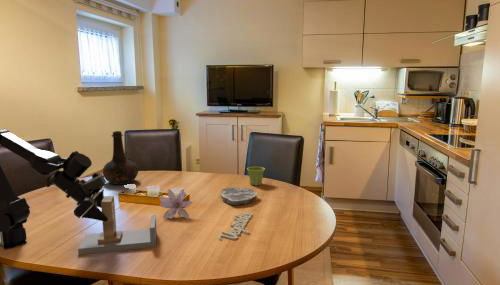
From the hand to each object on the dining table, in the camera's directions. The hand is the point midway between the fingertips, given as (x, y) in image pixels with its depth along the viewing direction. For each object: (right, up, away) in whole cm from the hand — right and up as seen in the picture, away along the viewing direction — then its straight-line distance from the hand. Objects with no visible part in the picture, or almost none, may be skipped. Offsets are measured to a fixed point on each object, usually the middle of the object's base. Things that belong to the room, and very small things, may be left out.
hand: (109, 215), depth 119 cm
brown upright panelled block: (0, -8, +1) cm, 8 cm away
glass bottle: (-23, +3, +74) cm, 77 cm away
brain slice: (+42, -3, +48) cm, 64 cm away
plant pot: (+50, +2, +71) cm, 87 cm away
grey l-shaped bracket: (+3, -10, +2) cm, 11 cm away
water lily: (+16, -6, +27) cm, 32 cm away
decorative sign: (+43, -8, +17) cm, 47 cm away
